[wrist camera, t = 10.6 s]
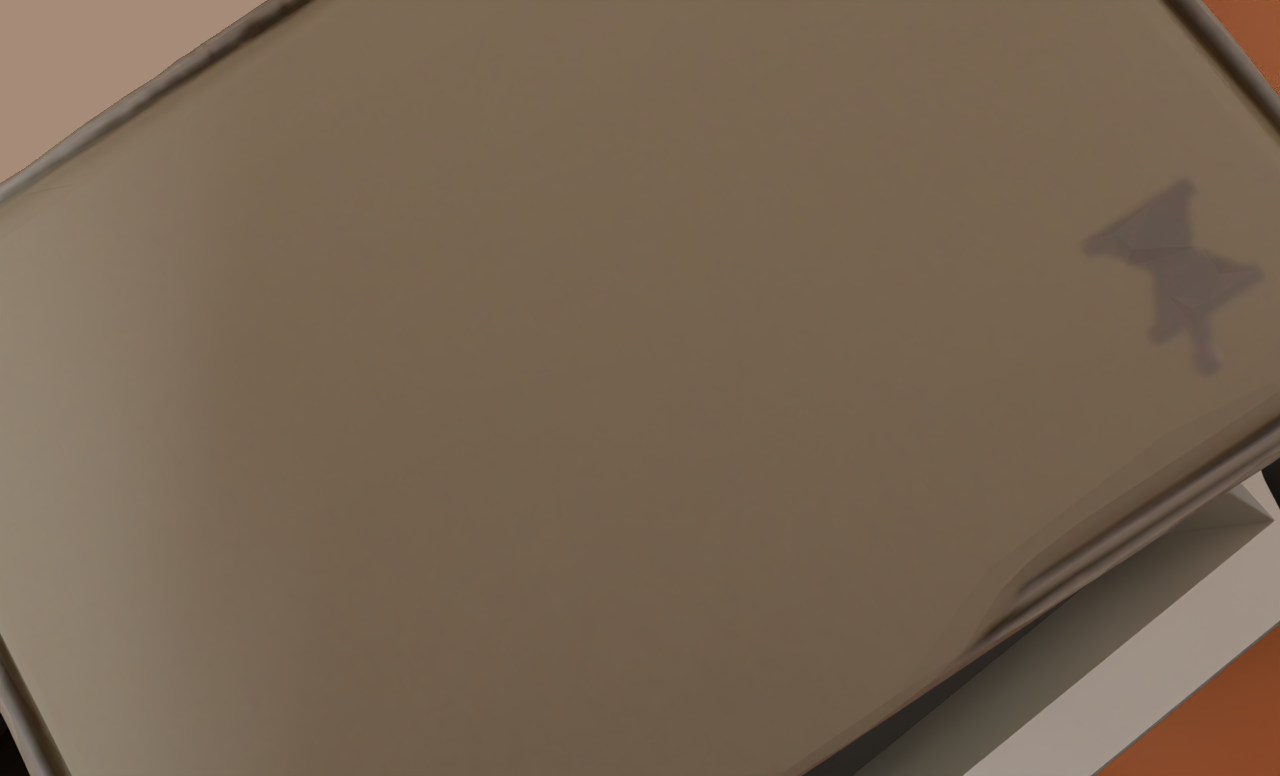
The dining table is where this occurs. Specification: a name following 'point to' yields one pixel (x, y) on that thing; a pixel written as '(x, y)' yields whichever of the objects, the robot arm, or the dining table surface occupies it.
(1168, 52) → the skincare box
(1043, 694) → the holder
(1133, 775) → the dining table surface
